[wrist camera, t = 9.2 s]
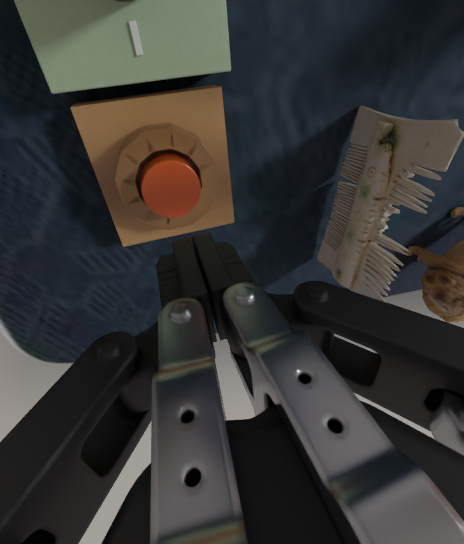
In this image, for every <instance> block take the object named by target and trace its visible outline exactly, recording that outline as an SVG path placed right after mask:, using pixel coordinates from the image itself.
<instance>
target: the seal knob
mask: <svg viewBox="0 0 464 544" xmlns="http://www.w3.org/2000/svg"><path fill="white" fill-rule="evenodd" d="M115 1H120V2H130V1H135V0H115Z"/></svg>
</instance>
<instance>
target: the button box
mask: <svg viewBox="0 0 464 544" xmlns="http://www.w3.org/2000/svg"><path fill="white" fill-rule="evenodd" d="M70 109H71V111H72V114H73V116H74V119H75V122H76V124H77V127H78V130H79V132H80V135H81V137H82V140H83V143H84V145H85V148H86V151H87V153H88V156H89V159H90V161H91V164H92V166H93V169H94V172H95V174H96V177H97V180H98V182H99V185H100V188H101V190H102V193H103V195H104V198H105V201H106V203H107V206H108V209H109V211H110V214H111V217H112V219H113V222H114V224H115V227H116V230H117V232H118V235H119V238H120V240H121V243H122V246H123V247H125V246H129V245H134V244H138V243H143V242H148V241H152V240H157V239H161V238H166V237H171V236H175V235H180V234H184V233H189V232H193V231H198V230H203V229H207V228H212V227H216V226H221V225H225V224H230V223H234V212H233V201H232V191H231V181H230V170H229V160H228V149H227V139H226V129H225V118H224V108H223V97H222V87H221V86H217V85H214V84H212V85H205V86H197V87H190V88H182V89H175V90H168V91H160V92H153V93H145V94H138V95H130V96H123V97H116V98H108V99H101V100H93V101H86V102H78V103H75V104H74V105H73V106H71V107H70ZM165 153H171V154H176V155H179V156H181V157H182V158H184V159H185V160H187V161H188V162H189V163H190V165H191V166H192V167H193V169H194V171H195V173H196V174H197V176H198V178H199V181H200V185H201V194H200V198H199V201H198V203H197V205H196V206H195V207H194V208H193V209H192V210H191V211H190V212H189V213H187V214H186V215H183V216H180V217H176V218H168V217H163V216H160V215H158V214H156V213H155V212H153V211H152V210H151V209H150V208H149V207H148V206H147V205H146V203H145V201H144V199H143V196H142V191H141V173H142V170H143V168H144V166H145V164H146V163H147V162H148V161H149V160H150V159H151V158H153V157H155V156H157V155H159V154H165Z"/></svg>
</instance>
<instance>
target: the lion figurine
mask: <svg viewBox="0 0 464 544" xmlns="http://www.w3.org/2000/svg"><path fill="white" fill-rule="evenodd" d="M450 215H451V217H452V218H457V217H458V216H460V215H464V208H462V207H457V208H454V209H453V210H452V211H451V213H450ZM407 250H409V252H407V251H406V253H407V254H408V255H413V254H415V255H418V257H417V260H418V261H419V262H423V261H424V262H425V263H426V264H428V265H429V267H428V268H427V270H426V272H425V273H424V274H423V275H422V276H421V283H422V284H423V299H424V302H425V304H426V306H427V307H428V309H429V310H430V311H432V312H433V313H434V314H436V315H438V316H440V317H441V318H443V319H444V320H445V321H446V322H447V323H451V322H453V321H454V322H459V321H464V240H463V241H461V242H459V243H457V244H456V245H454V246H453V247H452V248H451V249H450V250H449V251H448V252H447V253H446V254H445V255H444V256H442V255H436V254H433V253H431V252H429V251H427V250H425V249H423V248H421V247H418V246H410V247H409V248H408V249H407Z"/></svg>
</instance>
